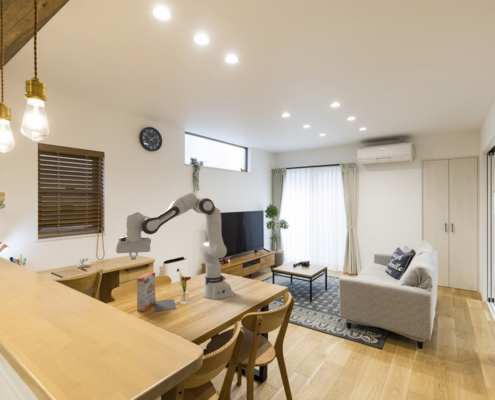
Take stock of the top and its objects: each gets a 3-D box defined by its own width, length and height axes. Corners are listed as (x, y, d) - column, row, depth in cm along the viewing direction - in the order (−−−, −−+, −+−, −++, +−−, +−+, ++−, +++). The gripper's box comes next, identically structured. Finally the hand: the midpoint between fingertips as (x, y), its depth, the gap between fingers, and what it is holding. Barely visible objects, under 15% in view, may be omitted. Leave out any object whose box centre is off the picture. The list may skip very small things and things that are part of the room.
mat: (173, 299, 196) (173, 298, 196) (176, 308, 179) (176, 308, 179) (154, 301, 191) (154, 301, 191) (154, 311, 174) (154, 311, 174)
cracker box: (145, 311, 174) (144, 278, 174) (136, 311, 175) (135, 277, 175) (156, 303, 188) (155, 271, 188) (148, 302, 189) (147, 271, 189)
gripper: (150, 236, 185) (150, 257, 185) (117, 237, 179) (116, 259, 178) (151, 237, 179) (150, 259, 179) (115, 239, 173) (115, 261, 172)
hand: (133, 259), depth 179 cm, fingers closed
